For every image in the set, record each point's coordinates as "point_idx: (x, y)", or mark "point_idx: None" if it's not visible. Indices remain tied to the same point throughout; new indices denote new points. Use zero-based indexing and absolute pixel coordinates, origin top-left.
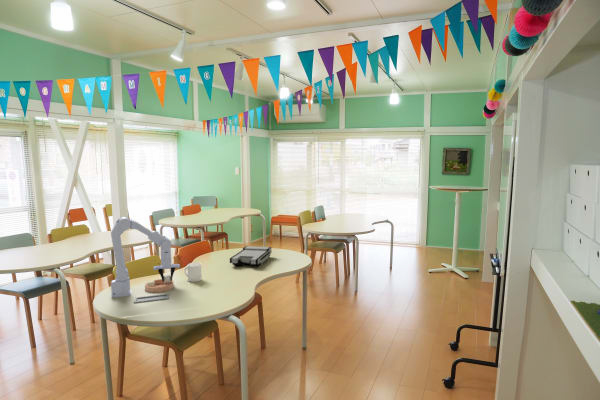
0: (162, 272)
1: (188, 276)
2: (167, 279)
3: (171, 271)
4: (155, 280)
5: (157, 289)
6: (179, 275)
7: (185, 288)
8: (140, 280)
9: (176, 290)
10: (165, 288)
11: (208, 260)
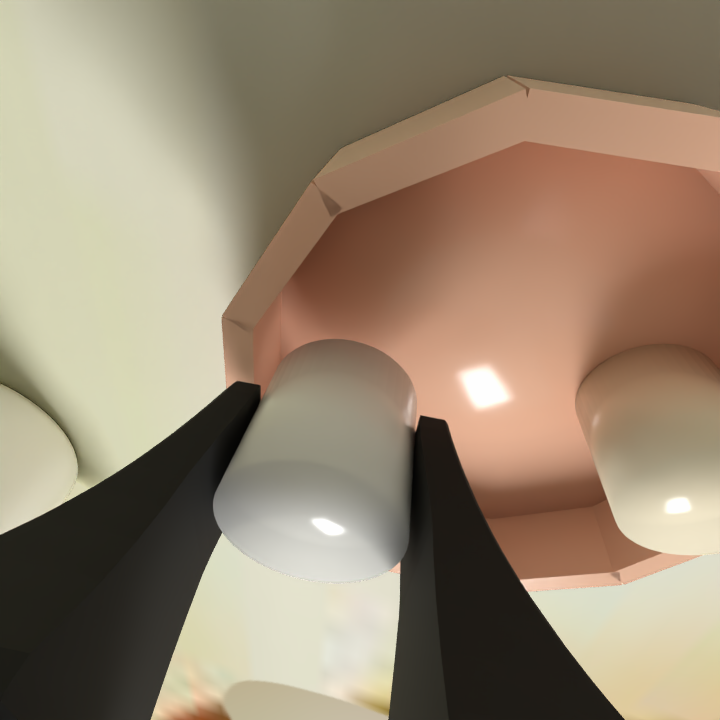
0: (457, 679)
1: (6, 484)
2: (323, 400)
3: (39, 596)
4: (521, 576)
5: (664, 107)
6: (214, 614)
7: (21, 117)
8: (607, 680)
9: (192, 69)
10: (430, 119)
11: None
